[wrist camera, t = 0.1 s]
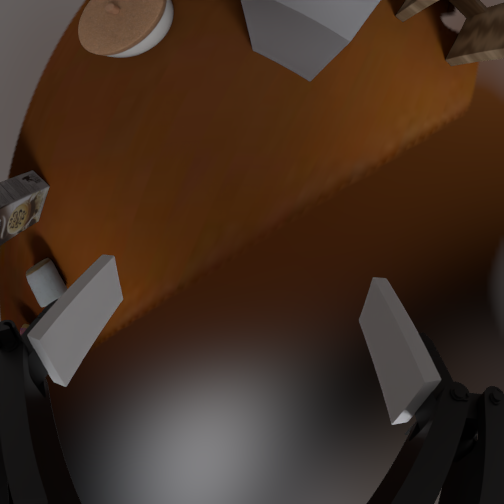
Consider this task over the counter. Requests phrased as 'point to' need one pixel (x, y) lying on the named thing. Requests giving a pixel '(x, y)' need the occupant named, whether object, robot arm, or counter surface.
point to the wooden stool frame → (469, 30)
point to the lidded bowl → (124, 26)
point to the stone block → (304, 30)
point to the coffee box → (20, 203)
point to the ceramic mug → (45, 282)
